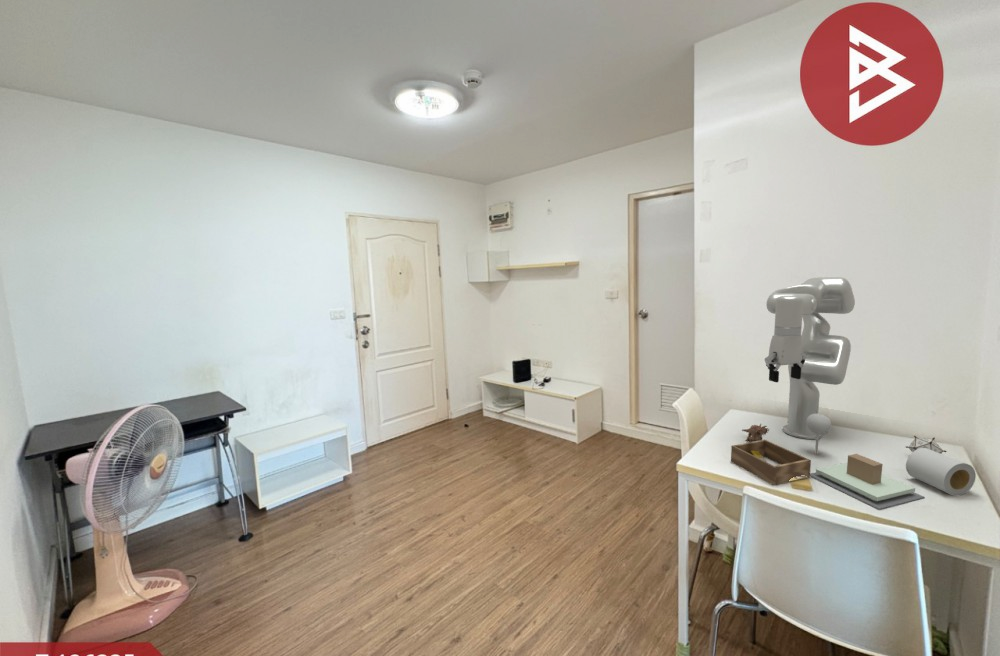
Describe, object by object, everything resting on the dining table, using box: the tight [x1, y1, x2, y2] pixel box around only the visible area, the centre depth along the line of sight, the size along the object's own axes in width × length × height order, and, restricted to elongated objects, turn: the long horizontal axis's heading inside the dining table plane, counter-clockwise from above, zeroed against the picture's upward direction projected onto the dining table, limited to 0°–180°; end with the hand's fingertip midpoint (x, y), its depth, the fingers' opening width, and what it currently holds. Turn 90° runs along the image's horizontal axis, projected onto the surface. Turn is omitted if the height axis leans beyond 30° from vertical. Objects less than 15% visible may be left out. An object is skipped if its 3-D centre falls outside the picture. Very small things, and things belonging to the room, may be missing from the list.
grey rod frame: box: [905, 435, 948, 454], centre depth 135 cm, size 9×8×10 cm
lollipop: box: [806, 413, 832, 455], centre depth 142 cm, size 7×7×15 cm
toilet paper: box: [905, 448, 977, 497], centre depth 119 cm, size 10×10×10 cm
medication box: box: [751, 451, 768, 463], centre depth 135 cm, size 12×3×4 cm, turn 164°
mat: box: [810, 471, 925, 511], centre depth 122 cm, size 18×20×1 cm
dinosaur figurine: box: [741, 423, 770, 443], centre depth 153 cm, size 14×6×9 cm, turn 173°
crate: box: [730, 439, 812, 486], centre depth 134 cm, size 15×17×6 cm
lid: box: [815, 453, 916, 501], centre depth 121 cm, size 15×17×8 cm
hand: (784, 379), depth 139 cm, fingers open, 9 cm apart
